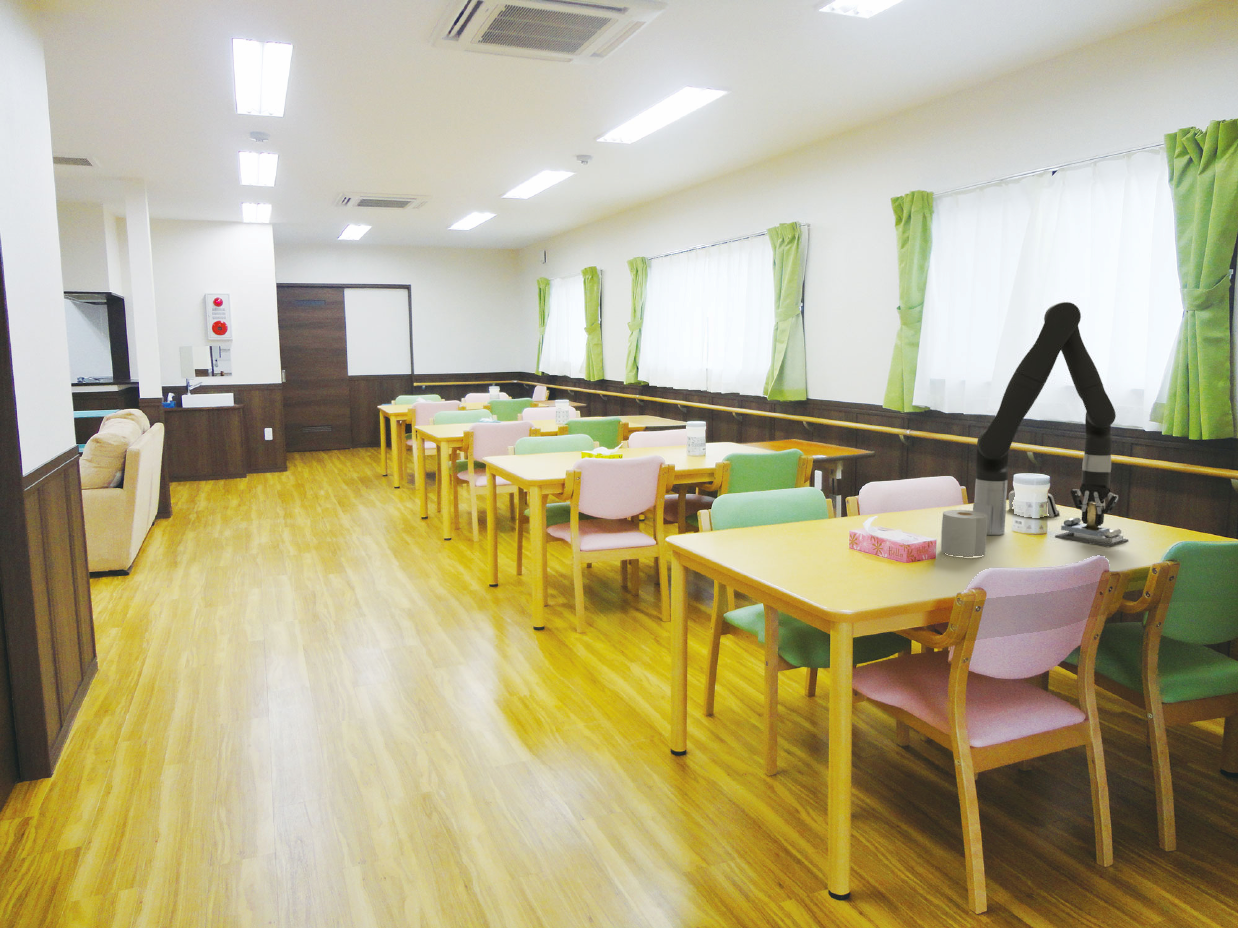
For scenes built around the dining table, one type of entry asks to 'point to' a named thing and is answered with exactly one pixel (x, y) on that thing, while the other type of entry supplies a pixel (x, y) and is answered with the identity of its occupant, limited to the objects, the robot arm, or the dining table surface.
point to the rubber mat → (1070, 536)
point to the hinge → (1051, 504)
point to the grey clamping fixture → (1092, 532)
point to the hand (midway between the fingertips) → (1092, 524)
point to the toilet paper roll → (963, 533)
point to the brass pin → (1091, 516)
